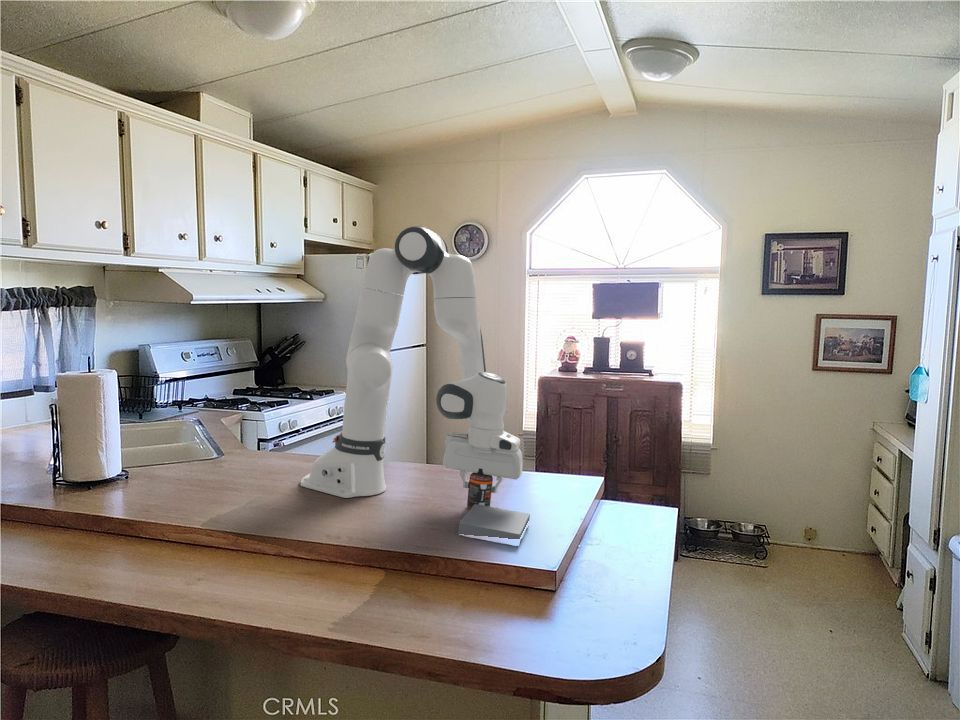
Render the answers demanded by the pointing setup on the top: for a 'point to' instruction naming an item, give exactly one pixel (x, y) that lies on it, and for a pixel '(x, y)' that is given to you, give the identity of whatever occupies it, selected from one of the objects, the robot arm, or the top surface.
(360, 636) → the top surface
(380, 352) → the robot arm
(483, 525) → the plinth
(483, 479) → the supplement bottle
